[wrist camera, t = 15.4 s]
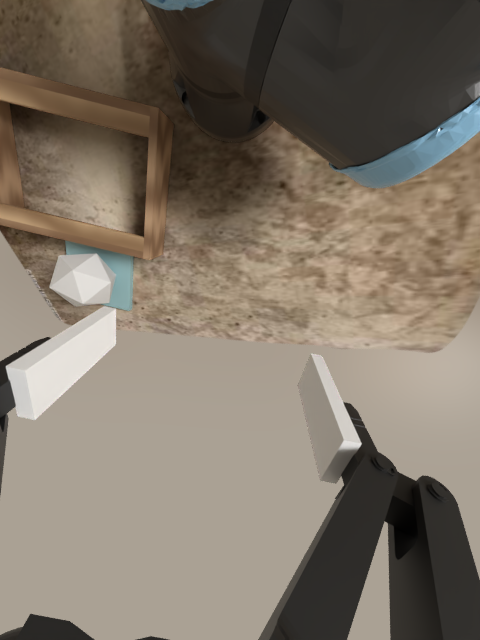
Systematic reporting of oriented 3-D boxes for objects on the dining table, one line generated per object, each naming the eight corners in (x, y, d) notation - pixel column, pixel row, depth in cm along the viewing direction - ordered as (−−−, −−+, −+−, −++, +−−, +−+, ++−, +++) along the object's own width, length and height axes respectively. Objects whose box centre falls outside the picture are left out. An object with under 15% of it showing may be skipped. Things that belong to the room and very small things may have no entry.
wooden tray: (-2, 79, 32) (-50, 54, 27) (173, 123, 33) (158, 107, 28) (20, 220, 39) (-14, 221, 34) (163, 254, 40) (149, 260, 35)
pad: (69, 235, 40) (64, 235, 39) (133, 250, 40) (130, 251, 39) (73, 295, 44) (70, 297, 44) (132, 308, 45) (129, 310, 44)
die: (71, 280, 43) (64, 323, 38) (46, 240, 36) (34, 286, 31) (120, 276, 45) (120, 317, 40) (106, 237, 38) (103, 281, 33)
